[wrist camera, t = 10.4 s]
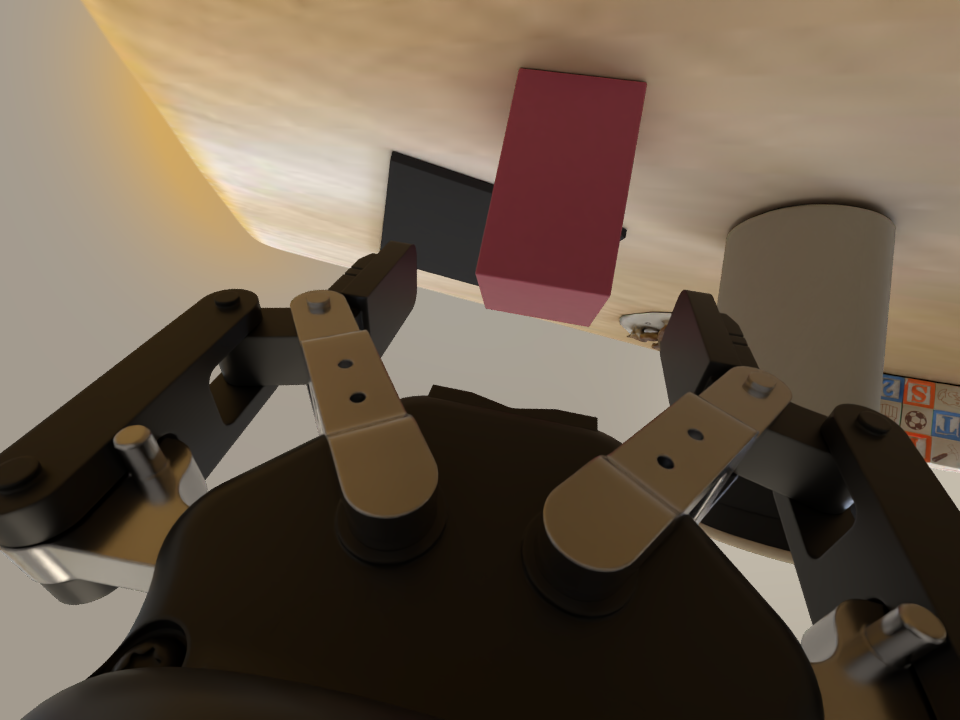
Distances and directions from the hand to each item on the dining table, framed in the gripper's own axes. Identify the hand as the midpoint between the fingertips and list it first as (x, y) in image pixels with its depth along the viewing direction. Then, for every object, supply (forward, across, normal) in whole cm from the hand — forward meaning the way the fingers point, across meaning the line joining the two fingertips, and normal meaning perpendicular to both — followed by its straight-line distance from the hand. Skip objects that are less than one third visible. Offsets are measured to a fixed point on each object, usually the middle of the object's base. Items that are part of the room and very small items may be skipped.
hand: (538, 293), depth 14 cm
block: (+11, 0, -3) cm, 12 cm away
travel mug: (+17, -14, +2) cm, 22 cm away
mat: (+23, +6, +9) cm, 26 cm away
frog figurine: (+34, -15, +19) cm, 42 cm away
